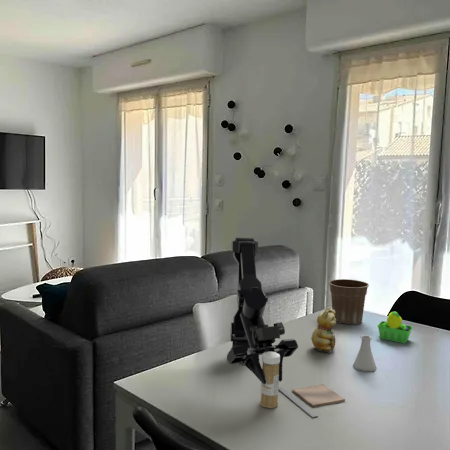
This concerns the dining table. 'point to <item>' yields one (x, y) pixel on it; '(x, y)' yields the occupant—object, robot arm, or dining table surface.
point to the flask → (365, 356)
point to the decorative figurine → (325, 331)
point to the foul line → (297, 402)
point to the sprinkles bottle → (270, 379)
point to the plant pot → (348, 300)
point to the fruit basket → (394, 329)
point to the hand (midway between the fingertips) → (272, 382)
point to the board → (318, 395)
